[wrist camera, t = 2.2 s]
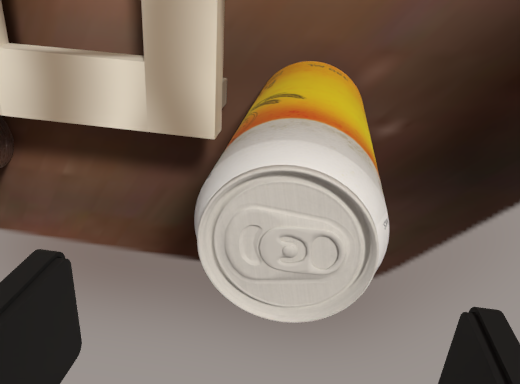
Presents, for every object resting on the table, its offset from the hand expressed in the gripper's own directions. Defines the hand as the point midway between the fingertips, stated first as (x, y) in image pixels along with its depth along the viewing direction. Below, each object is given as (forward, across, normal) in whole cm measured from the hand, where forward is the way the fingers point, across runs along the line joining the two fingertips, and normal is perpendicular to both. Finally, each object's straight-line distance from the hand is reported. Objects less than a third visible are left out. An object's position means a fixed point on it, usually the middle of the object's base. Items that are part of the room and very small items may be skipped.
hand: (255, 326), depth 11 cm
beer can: (+18, -1, -1) cm, 18 cm away
